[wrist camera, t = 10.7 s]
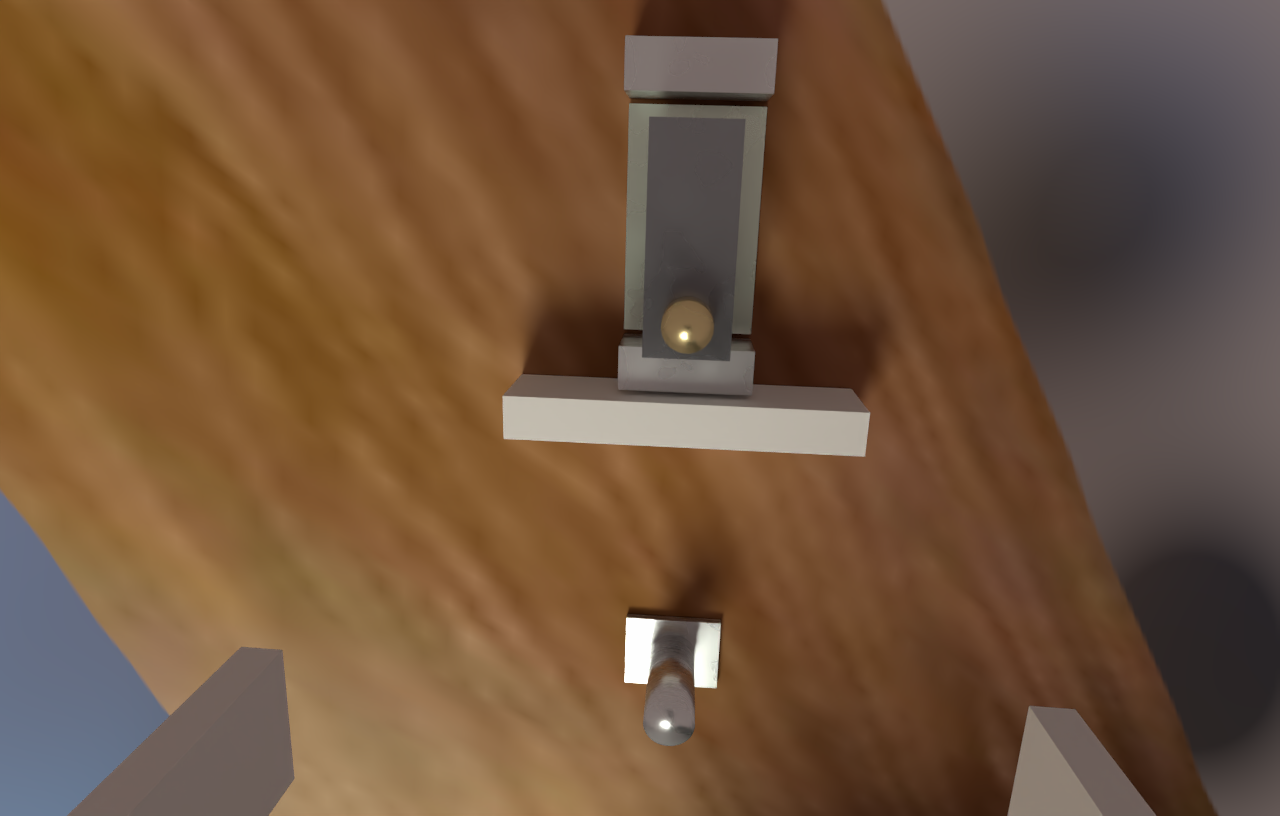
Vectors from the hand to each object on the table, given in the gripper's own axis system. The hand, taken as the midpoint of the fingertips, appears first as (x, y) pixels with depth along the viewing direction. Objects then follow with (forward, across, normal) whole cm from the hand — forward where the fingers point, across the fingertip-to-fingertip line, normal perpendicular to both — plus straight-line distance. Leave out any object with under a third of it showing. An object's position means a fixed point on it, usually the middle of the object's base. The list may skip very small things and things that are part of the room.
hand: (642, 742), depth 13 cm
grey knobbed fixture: (+25, 0, -14) cm, 29 cm away
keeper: (+24, 0, +8) cm, 26 cm away
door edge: (+25, 0, 0) cm, 25 cm away
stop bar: (+24, 0, +8) cm, 25 cm away
